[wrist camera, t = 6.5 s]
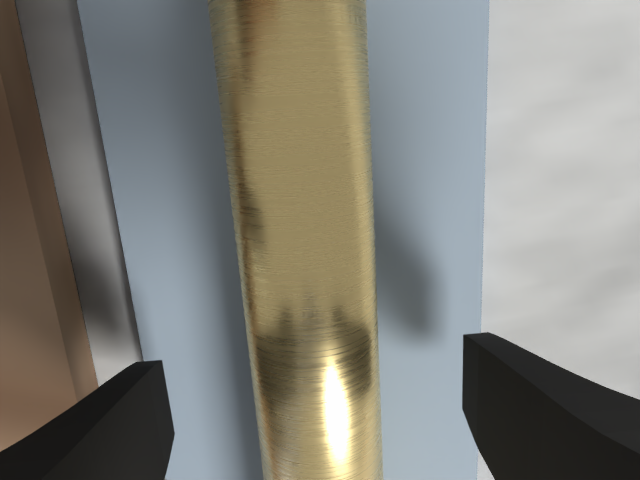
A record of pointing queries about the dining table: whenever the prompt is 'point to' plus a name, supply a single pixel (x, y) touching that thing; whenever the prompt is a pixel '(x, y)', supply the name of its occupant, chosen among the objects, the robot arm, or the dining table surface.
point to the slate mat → (219, 237)
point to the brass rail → (304, 228)
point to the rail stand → (33, 264)
